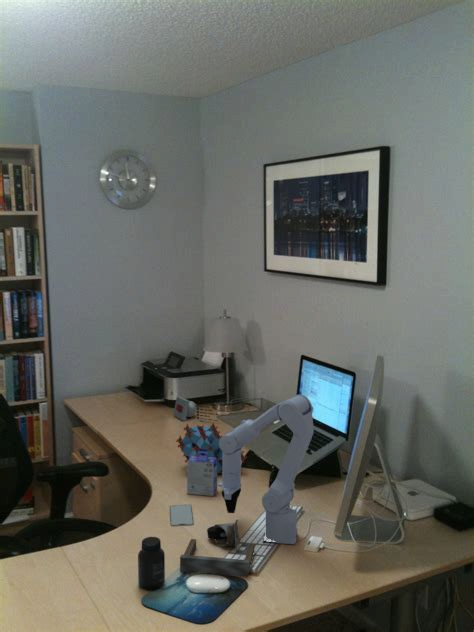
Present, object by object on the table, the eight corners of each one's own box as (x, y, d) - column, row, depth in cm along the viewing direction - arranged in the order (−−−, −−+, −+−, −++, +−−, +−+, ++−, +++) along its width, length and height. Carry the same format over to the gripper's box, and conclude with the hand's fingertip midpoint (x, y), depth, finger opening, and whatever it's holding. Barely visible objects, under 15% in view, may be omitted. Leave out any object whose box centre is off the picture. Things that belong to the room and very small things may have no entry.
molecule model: (245, 440, 256) (192, 410, 250) (253, 452, 242) (196, 420, 236) (224, 475, 256) (170, 446, 250) (230, 489, 242) (173, 458, 236)
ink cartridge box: (217, 490, 228) (218, 451, 226) (214, 496, 223) (214, 456, 221) (190, 488, 230) (190, 449, 228) (186, 494, 225) (186, 454, 223)
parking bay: (254, 552, 185) (254, 538, 184) (248, 577, 172) (248, 562, 171) (191, 547, 187) (191, 534, 187) (180, 571, 174) (180, 557, 174)
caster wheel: (211, 540, 197) (243, 538, 195) (204, 551, 186) (238, 548, 184) (209, 518, 197) (241, 515, 196) (201, 527, 186) (235, 524, 185)
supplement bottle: (165, 577, 171) (165, 534, 170) (163, 591, 164) (163, 547, 163) (140, 577, 171) (139, 534, 169) (136, 591, 164) (136, 547, 163)
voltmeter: (167, 419, 312) (167, 399, 311) (178, 413, 322) (178, 394, 321) (218, 426, 302) (218, 405, 301) (227, 419, 313) (227, 400, 311)
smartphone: (191, 504, 216) (194, 524, 201) (191, 506, 216) (194, 526, 201) (169, 505, 215) (170, 525, 200) (169, 507, 215) (170, 527, 200)
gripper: (222, 461, 207) (222, 501, 209) (214, 478, 193) (214, 521, 195) (244, 462, 206) (244, 503, 208) (237, 480, 192) (237, 523, 194)
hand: (231, 512), depth 201 cm, fingers closed
